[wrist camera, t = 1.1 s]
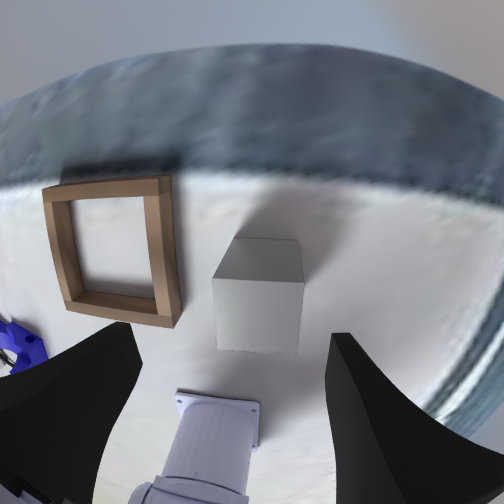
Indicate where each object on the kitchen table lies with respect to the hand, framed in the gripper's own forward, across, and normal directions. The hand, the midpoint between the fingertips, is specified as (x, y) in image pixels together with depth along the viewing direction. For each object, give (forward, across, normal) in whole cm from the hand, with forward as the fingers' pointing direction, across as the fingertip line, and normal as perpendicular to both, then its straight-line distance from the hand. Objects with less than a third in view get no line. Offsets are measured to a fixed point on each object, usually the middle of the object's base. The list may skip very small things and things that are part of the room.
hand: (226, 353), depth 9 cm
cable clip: (+10, +31, +11) cm, 34 cm away
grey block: (+10, -1, +1) cm, 10 cm away
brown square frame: (+10, +10, 0) cm, 14 cm away
